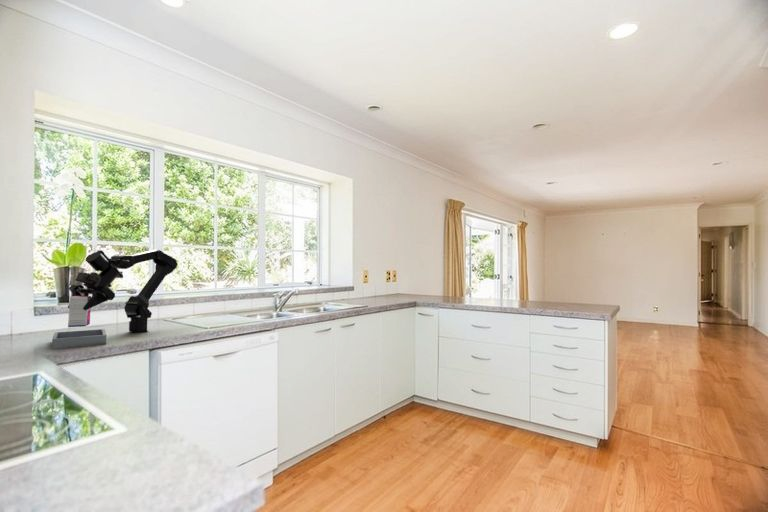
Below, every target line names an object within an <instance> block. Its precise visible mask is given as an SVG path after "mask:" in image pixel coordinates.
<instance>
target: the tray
mask: <svg viewBox="0 0 768 512" xmlns="http://www.w3.org/2000/svg"><path fill="white" fill-rule="evenodd" d="M107 337H108V336H107V332H106V329H105V328H100V329H99V328H98V329H88V330H87V329H85V330H70V331H69V330H67V331H56V332H54V333H53V337H52V339H51V341H52V342H51V349H52V350H57V348H58V349H67V347H69V348H77V347H78V346H81V347H89V346H90V347H91V346H99V345H107ZM78 348H79V347H78Z"/></svg>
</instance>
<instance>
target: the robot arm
mask: <svg viewBox="0 0 768 512" xmlns="http://www.w3.org/2000/svg"><path fill="white" fill-rule="evenodd" d="M151 260H152V262H153V264H155V267H154V269H155V271H154V272H153V274H151V275H152V276H151V277H150V278H149V280H148V281H147V282H146V283H145V285H144V286H143V287H142V289H141V290H140V292H139V293H138V294H137V295H136V296H134V295H130V296H129V298H128V300H127V301H126V302H125V303H124V304H125V305H124V312H125V314H126V317H127V319H130V320H129V321H128V331H129V333H131V334H133V333H137V334H138V333H147V332H149V330H148V319H151V318H152V315H153V312H151V311H150V309H148V308H149V307H150V302H149V301H150V299H151V297H153V295H154V293H155V292H156V291H157V289H158V287H160V285H161V284H162V282H163V280H164V279H165V277H166V276H168V275H170V274H171V273H173V272H174V271H175V270H176V269H177V267H178V262H177V260H176V259H175V258H174V257H172V256H170V254H169V255H168V254H166V253H164V251H162V250H161V249H151V250H148V251H147V250H146V251H143V252H139V253H133V254H129V255H126V254H123V255H122V254H121V255H120V254H118V255H115V254H114V255H112V256H111V257H110V258H109V257H108V256H107V255H106V253H105V252H104V250H97V251H95V252H93V253H91V254H89V255H87V256H86V258H85V261H86V263H87V264H89V266H90V268H92V269H93V270H94V271H93V272H90V273H89V272H88V273H87V272H78V273H77V275H76V278H75V279H74V280H75V281H76V282H81V283H83V285H82V284H71V285H70V286H69V287H68V290H69V291H70V292H71V293H72V296H90V295H91V298H90V300H89V301H88V302H87V303H86V305H85V306H84V308H83V309H84V310H87V309H89V308H91V309H92V308H94V307H96V306H98V305H100V304H103V303H105V302H108V301H113V300H114V298H115V297H116V292H114V290H112V289H111V287H112V286H113V285H112V283H113V282H114V281H115V279H123V278H124V275H123V274H124V273H123V271H120V270H127V269H130V268H132V267H134V266H135V265H137V264H139V263H143V262H146V261H151ZM95 271H96V272H95ZM98 272H99V273H98ZM67 309H69V304H68V306H67Z"/></svg>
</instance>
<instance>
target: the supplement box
mask: <svg viewBox="0 0 768 512" xmlns="http://www.w3.org/2000/svg"><path fill="white" fill-rule="evenodd" d="M91 297H92V295H88V296H73V295H72V296H69V304H68V305H69V308H68V322H67V327H68V328H81V327H87V326H89V325H90V323H91V310H92V308H89V309H87V310H84V309H83V308H84V306H85V305H86V303H87V302H88V301H89V300H90V298H91Z"/></svg>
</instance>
